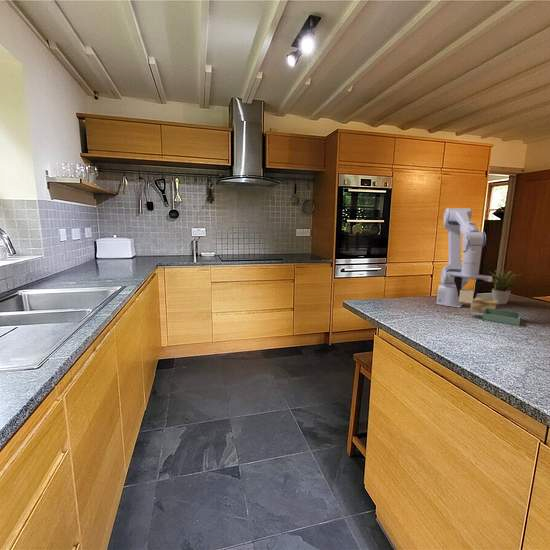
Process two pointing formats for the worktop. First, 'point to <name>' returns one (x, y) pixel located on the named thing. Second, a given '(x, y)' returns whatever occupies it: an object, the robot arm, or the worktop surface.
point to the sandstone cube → (466, 295)
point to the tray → (501, 316)
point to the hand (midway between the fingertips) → (466, 297)
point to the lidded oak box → (482, 304)
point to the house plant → (501, 287)
